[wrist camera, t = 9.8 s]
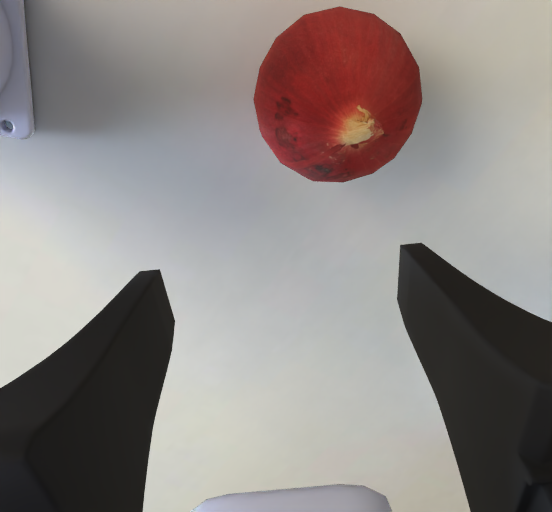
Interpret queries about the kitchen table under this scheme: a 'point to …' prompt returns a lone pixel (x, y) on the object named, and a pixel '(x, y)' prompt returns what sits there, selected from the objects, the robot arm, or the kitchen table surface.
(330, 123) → the onion
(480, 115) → the kitchen table surface
